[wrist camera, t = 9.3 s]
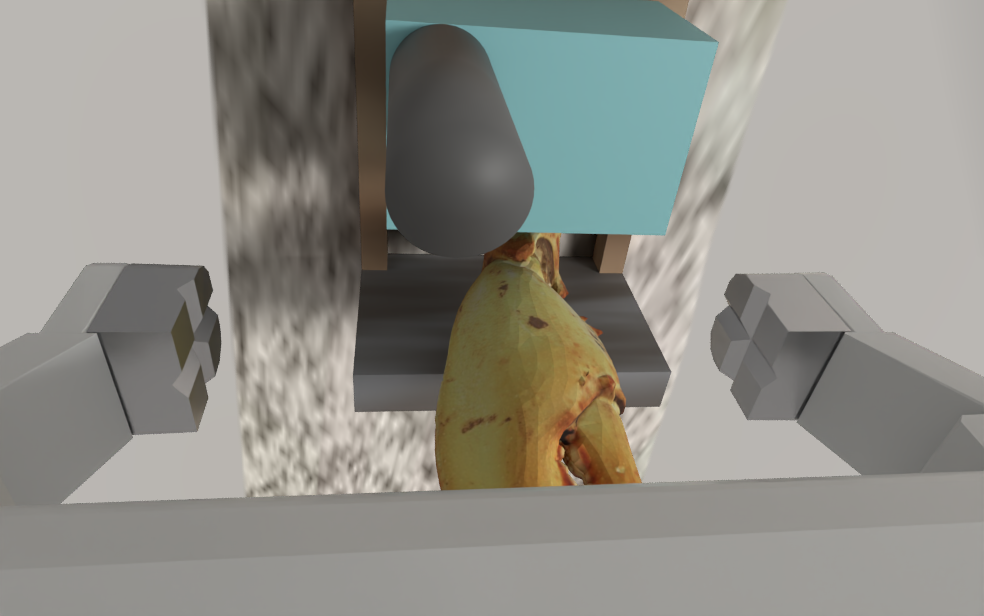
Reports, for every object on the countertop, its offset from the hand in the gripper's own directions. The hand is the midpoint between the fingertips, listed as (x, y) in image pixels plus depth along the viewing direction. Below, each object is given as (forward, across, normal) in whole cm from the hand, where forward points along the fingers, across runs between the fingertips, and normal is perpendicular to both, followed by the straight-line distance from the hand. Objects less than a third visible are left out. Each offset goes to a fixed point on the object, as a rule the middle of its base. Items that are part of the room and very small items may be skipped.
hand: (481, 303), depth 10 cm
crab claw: (+20, -4, +9) cm, 22 cm away
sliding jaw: (+18, -3, +3) cm, 19 cm away
